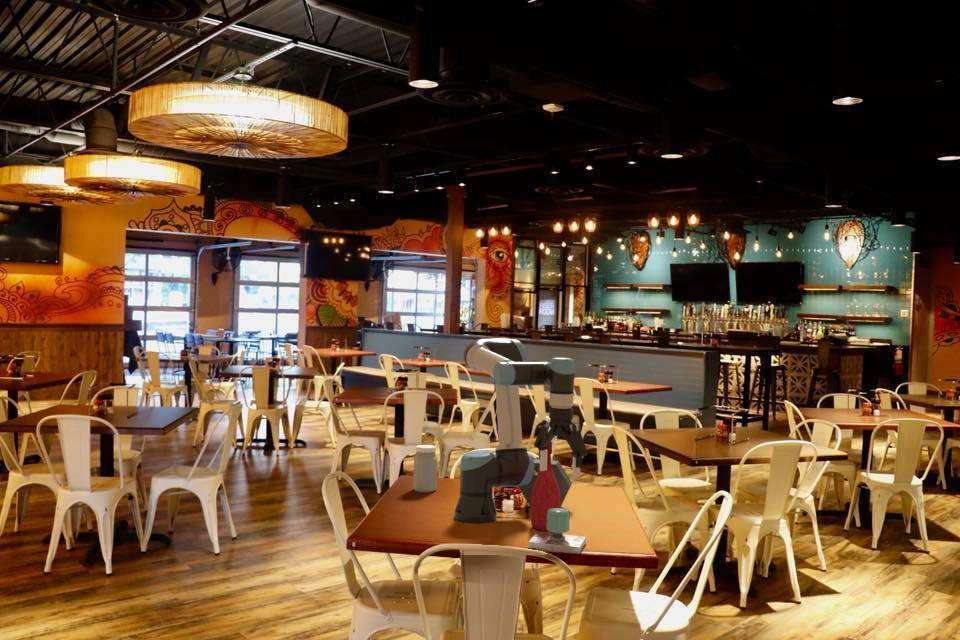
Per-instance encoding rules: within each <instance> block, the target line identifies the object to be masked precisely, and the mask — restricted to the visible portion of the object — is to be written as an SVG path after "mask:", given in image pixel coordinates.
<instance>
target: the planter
mask: <svg viewBox="0 0 960 640" xmlns="http://www.w3.org/2000/svg"><path fill="white" fill-rule="evenodd" d="M533 459H534V473H533V477H532V479H531V481H530V482H529V483H528V484H527V485H523V486H518V487H517V488H518V489H519V492H521V494H522V496H523V497H524V499H525V501H526V502H527V505H528V506H529V507H530V508H531V497H532V490H533V487H534V484H535V482H536V479H537V477H538V475H539V473H540V460H539V458H538V459H535V458H533ZM551 465H552V470H553V473H554V476H555V478H556V481H557V484H558V487H559V491H560V508H561V507H562V505H563V503H564V501H565V499H566V497H567V495H568V493H569V490H570V488H571V486H572V484H573V482H572V481H571V478H570V477H569V475H568V474H567V472H566V470H565V469H564V468H563V465H562V464H561V462H560V461H559V460H554V459H553V460H552V459H551ZM535 473H537V474H535Z"/></svg>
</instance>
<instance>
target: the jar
mask: <svg viewBox="0 0 960 640" xmlns="http://www.w3.org/2000/svg"><path fill="white" fill-rule="evenodd" d="M415 451H416V452H415V456H414V457H413V482H412V483H413V487H412V488H413V490H414V491H415V492H418V493H432V492H435V491H436V490H437V488H438V487H437V484H438V483H437V482H438V456H436V455H437V452H436V451H437V446H436V445H434V444H418V445H415Z"/></svg>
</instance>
